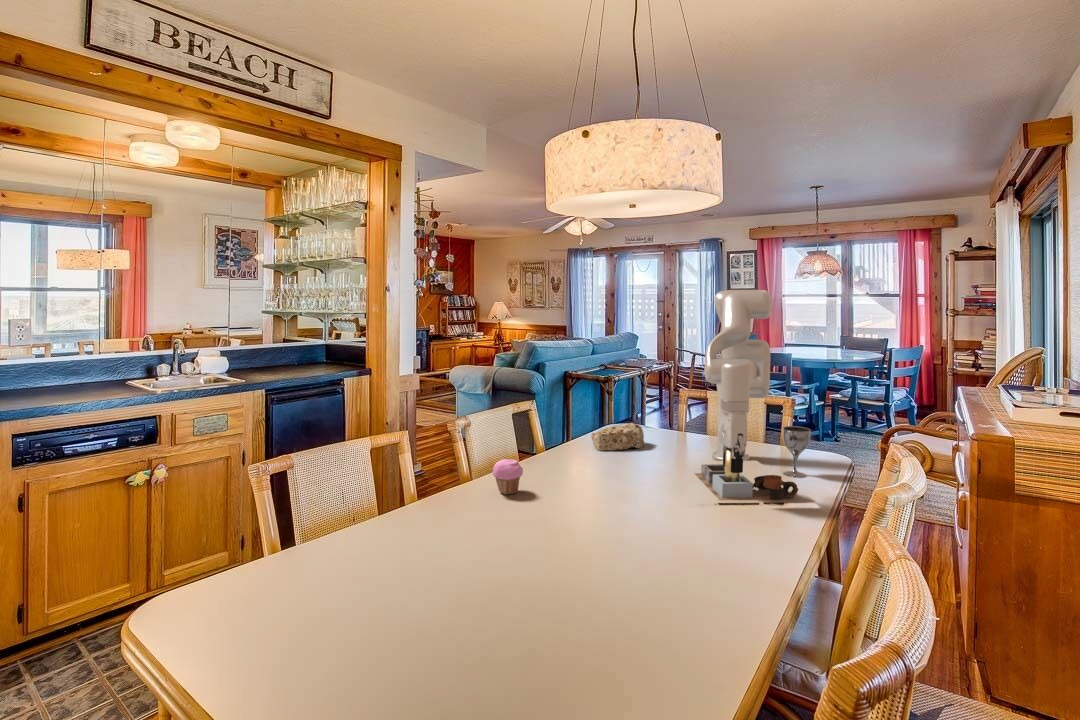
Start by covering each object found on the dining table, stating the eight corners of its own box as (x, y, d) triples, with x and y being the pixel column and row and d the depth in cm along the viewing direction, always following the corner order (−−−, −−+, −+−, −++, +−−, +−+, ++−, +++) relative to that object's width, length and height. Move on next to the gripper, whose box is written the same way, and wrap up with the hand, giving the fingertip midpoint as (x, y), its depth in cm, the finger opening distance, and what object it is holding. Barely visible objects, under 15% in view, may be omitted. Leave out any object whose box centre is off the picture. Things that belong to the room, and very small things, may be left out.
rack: (712, 487, 162) (712, 474, 162) (741, 487, 163) (741, 474, 162) (722, 497, 154) (722, 483, 154) (752, 497, 154) (752, 483, 154)
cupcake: (527, 494, 162) (527, 460, 161) (500, 499, 158) (500, 465, 157) (514, 485, 170) (513, 453, 169) (487, 490, 165) (487, 457, 164)
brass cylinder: (722, 490, 160) (723, 449, 159) (736, 489, 161) (737, 449, 159) (727, 494, 156) (728, 452, 155) (741, 494, 157) (742, 452, 155)
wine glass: (793, 479, 175) (795, 432, 173) (776, 471, 183) (777, 426, 181) (814, 476, 177) (816, 430, 176) (796, 469, 185) (798, 425, 183)
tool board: (694, 478, 176) (694, 462, 176) (728, 477, 176) (729, 462, 176) (719, 505, 152) (720, 487, 152) (759, 505, 153) (760, 487, 152)
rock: (599, 455, 206) (595, 429, 208) (589, 454, 221) (585, 429, 222) (651, 446, 210) (647, 420, 212) (638, 446, 225) (634, 421, 226)
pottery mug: (752, 505, 154) (747, 475, 157) (759, 510, 161) (755, 482, 165) (798, 501, 148) (793, 470, 152) (804, 507, 155) (799, 477, 159)
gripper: (711, 400, 164) (709, 460, 166) (732, 412, 147) (730, 478, 149) (736, 400, 164) (734, 460, 166) (760, 412, 147) (757, 478, 149)
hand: (732, 468), depth 158 cm, fingers open, 5 cm apart
